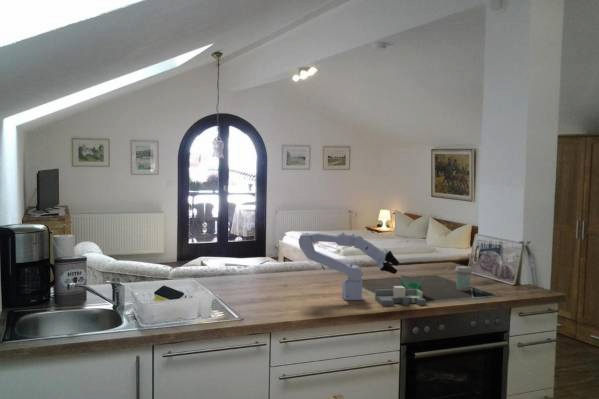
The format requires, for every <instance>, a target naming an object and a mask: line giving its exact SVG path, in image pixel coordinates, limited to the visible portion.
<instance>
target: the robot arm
mask: <svg viewBox="0 0 599 399" xmlns="http://www.w3.org/2000/svg"><path fill="white" fill-rule="evenodd" d="M318 242H325V243H326V242H327V243H336V244H337V246H339V247H340V246H343V247H348V248H351V247H354V249H358V250H360V251H361V252H362V253H364V254H365V255H366V256H368V257H369V258H371V259H372V260H374V261H375V262H377V267H378V268H379V270H380V271H381V272H388V273H390V274H393V275H396V273H397V272H398V270H397V269H396V268H395V267H394V266H396V267H398V266H399V265H400V261H399V260H398V259H397V258H396V257H395V256H394V254H393V252H392V251H391V250H389V251H388V250H387V249H386V248H384V249H383V250H381V249H380V248H379V247H378V246H375V245H374V244H373V243H371V242H370V241H368V240H366V239H364V237H363V236H361V235H359V234H354V233H352V234H347V233H346V234H345V232H341V233H338V234H336V235H332V234H327V233H325V234H324V233H320V232H303V233H301V234H300V235H299V239H298V245H299V249H300V250H301V251H302V252H303V254H304V255H305V256H306V258H307V259H308V260H310V261H313V262H314V263H318V264H320V265H323V266H324V267H327V268H330V269H332V270H335V271H337V272H339V273H342V274H343V275H345V276H347V279H344V280H343V281H342V284H341V286H342V288H341V291H342V292H341V297H342V298H343V299H344V301H364V300H365V298H364V297H363V271H362V268H361V267H360V266H359V265H357V264H351V263H346V262H343V261H341V260H339V259H336V258H333V257H331V256H329V255H327V254H324V253H322V252H320V251H317V250H315V247H314V245H315V244H316V243H318ZM392 265H393V266H392Z"/></svg>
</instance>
